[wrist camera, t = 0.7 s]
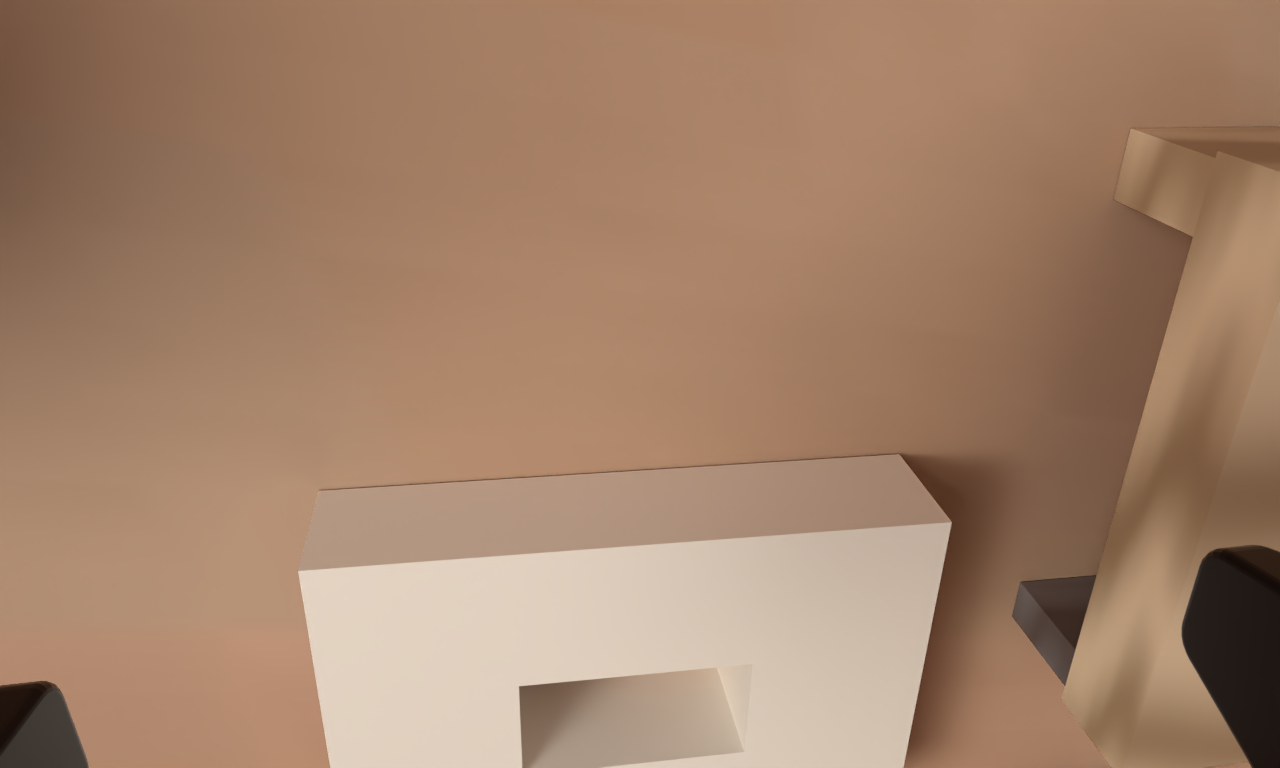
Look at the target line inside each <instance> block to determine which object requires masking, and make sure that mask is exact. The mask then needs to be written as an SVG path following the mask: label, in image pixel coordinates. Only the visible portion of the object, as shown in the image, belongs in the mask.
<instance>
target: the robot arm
mask: <svg viewBox="0 0 1280 768" xmlns="http://www.w3.org/2000/svg"><path fill="white" fill-rule="evenodd" d="M1181 636H1182V641H1183V646H1184V649H1185V651H1186V654H1187V656H1188V658H1189V660H1190V662H1191V663H1192V665H1193V667H1194V668H1195V670H1196V672H1197V674H1198V675H1199V677H1200V679H1201V681H1202V682H1203V684H1204V686H1205V687H1206V689H1207V691H1208V693H1209V694H1210V696H1211V698H1212V699H1213V701H1214V703H1215V705H1216V706H1217V708H1218V710H1219V712H1220V713H1221V715H1222V717H1223V718H1224V720H1225V722H1226V724H1227V725H1228V727H1229V729H1230V730H1231V732H1232V734H1233V736H1234V737H1235V739H1236V741H1237V743H1238V744H1239V746H1240V748H1241V749H1242V751H1243V753H1244V755H1245V756H1246V758H1247V760H1248V762H1249V763H1250V765H1251V767H1252V768H1280V552H1279V551H1276V550H1273V549H1271V548H1268V547H1265V546H1261V545H1244V546H1235V547H1226V548H1218V549H1215V550H1212V551H1210V552H1209V553H1208V554H1207V555H1206V556H1205V557H1204V558H1203V559H1202V561H1201V563H1200V566H1199V569H1198V572H1197V576H1196V579H1195V582H1194V585H1193V589H1192V592H1191V595H1190V599H1189V602H1188V605H1187V608H1186V612H1185V615H1184V618H1183V622H1182V627H1181ZM0 768H89V766H88V762H87V758H86V755H85V752H84V750H83V747H82V744H81V742H80V739H79V736H78V734H77V731H76V728H75V725H74V723H73V720H72V717H71V715H70V712H69V709H68V707H67V704H66V701H65V698H64V696H63V694H62V692H61V691H60V689H59V688H58V687H57V686H56V685H55V684H53V683H51V682H47V681H37V682H28V683H19V684H10V685H1V686H0Z"/></svg>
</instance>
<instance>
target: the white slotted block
mask: <svg viewBox="0 0 1280 768" xmlns="http://www.w3.org/2000/svg"><path fill="white" fill-rule="evenodd" d="M951 524H952V522H951V520H950V519H949V518H948V517H947V515H946V514H945V513H944V511H943V510H942V509H941V507H940V506H939V505H938V504H937V502H936V501H935V500H934V498H933V497H932V496H931V495H930V493H929V492H928V491H927V489H926V488H925V487H924V485H923V484H922V483H921V482H920V480H919V479H918V478H917V476H916V475H915V474H914V473H913V471H912V470H911V469H910V467H909V466H908V465H907V463H906V462H905V461H904V460H903V458H902V457H901V456H900V454H894V455H878V456H862V457H847V458H831V459H815V460H799V461H783V462H767V463H751V464H736V465H720V466H704V467H688V468H672V469H656V470H640V471H625V472H609V473H593V474H577V475H561V476H545V477H529V478H514V479H498V480H482V481H466V482H450V483H434V484H418V485H403V486H387V487H371V488H355V489H339V490H323V491H318V494H317V498H316V502H315V506H314V510H313V514H312V518H311V522H310V526H309V530H308V534H307V538H306V542H305V546H304V550H303V554H302V558H301V562H300V566H299V570H298V572H299V578H300V585H301V591H302V597H303V603H304V609H305V615H306V621H307V628H308V634H309V640H310V646H311V652H312V658H313V664H314V670H315V677H316V683H317V689H318V695H319V701H320V707H321V713H322V720H323V726H324V732H325V738H326V744H327V750H328V756H329V762H330V768H903V767H904V762H905V757H906V752H907V747H908V742H909V737H910V732H911V727H912V722H913V717H914V711H915V706H916V701H917V696H918V691H919V686H920V681H921V676H922V671H923V666H924V661H925V656H926V651H927V646H928V641H929V635H930V630H931V625H932V620H933V615H934V610H935V605H936V600H937V595H938V590H939V585H940V580H941V575H942V570H943V565H944V560H945V554H946V549H947V544H948V539H949V534H950V529H951Z"/></svg>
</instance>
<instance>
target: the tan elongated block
mask: <svg viewBox="0 0 1280 768" xmlns="http://www.w3.org/2000/svg"><path fill="white" fill-rule="evenodd" d="M1113 200H1116V201H1118V202H1120V203H1122V204H1124V205H1126V206H1128V207H1130V208H1133V209H1135V210H1137V211H1139V212H1141V213H1143V214H1145V215H1147V216H1150V217H1152V218H1154V219H1156V220H1158V221H1160V222H1162V223H1164V224H1167V225H1169V226H1171V227H1173V228H1175V229H1177V230H1179V231H1181V232H1184V233H1186V234H1188V235H1190V236H1192V237H1193V239H1192V242H1191V246H1190V249H1189V253H1188V256H1187V260H1186V263H1185V267H1184V270H1183V274H1182V277H1181V281H1180V284H1179V288H1178V291H1177V295H1176V298H1175V302H1174V305H1173V309H1172V313H1171V316H1170V320H1169V323H1168V327H1167V330H1166V334H1165V337H1164V341H1163V344H1162V348H1161V351H1160V355H1159V358H1158V362H1157V365H1156V369H1155V372H1154V376H1153V379H1152V383H1151V386H1150V390H1149V393H1148V397H1147V400H1146V404H1145V407H1144V411H1143V414H1142V418H1141V421H1140V425H1139V428H1138V432H1137V436H1136V439H1135V443H1134V446H1133V450H1132V453H1131V457H1130V460H1129V464H1128V467H1127V471H1126V474H1125V478H1124V481H1123V485H1122V488H1121V492H1120V495H1119V499H1118V502H1117V506H1116V509H1115V513H1114V516H1113V520H1112V523H1111V527H1110V530H1109V534H1108V537H1107V541H1106V544H1105V548H1104V551H1103V555H1102V559H1101V562H1100V566H1099V569H1098V573H1097V576H1086V577H1075V578H1063V579H1051V580H1040V581H1028V582H1020V586H1019V591H1018V595H1017V599H1016V603H1015V607H1014V611H1013V615H1012V617H1013V618H1014V619H1015V621H1016V622H1017V623H1018V625H1019V626H1020V627H1021V629H1022V630H1023V631H1024V633H1025V634H1026V635H1027V637H1028V638H1029V639H1030V641H1031V642H1032V643H1033V645H1034V646H1035V647H1036V649H1037V650H1038V651H1039V653H1040V654H1041V655H1042V657H1043V658H1044V659H1045V660H1046V662H1047V663H1048V664H1049V666H1050V667H1051V668H1052V670H1053V671H1054V672H1055V674H1056V675H1057V676H1058V678H1059V679H1060V680H1061V682H1062V683H1063V684H1064V686H1065V689H1064V692H1063V696H1062V699H1061V700H1062V701H1063V703H1064V704H1065V706H1066V707H1067V708H1068V710H1069V711H1070V712H1071V714H1072V715H1073V716H1074V718H1075V719H1076V720H1077V722H1078V723H1079V724H1080V726H1081V727H1082V729H1083V730H1084V731H1085V733H1086V734H1087V735H1088V737H1089V738H1090V739H1091V741H1092V742H1093V743H1094V745H1095V746H1096V748H1097V749H1098V750H1099V752H1100V753H1101V754H1102V756H1103V757H1104V758H1105V760H1106V761H1107V762H1108V764H1109V765H1110V766H1111V768H1206V767H1214V766H1222V765H1231V764H1239V763H1247V762H1248V760H1247V758H1246V756H1245V755H1244V753H1243V751H1242V749H1241V748H1240V746H1239V744H1238V743H1237V741H1236V739H1235V737H1234V736H1233V734H1232V732H1231V730H1230V729H1229V727H1228V725H1227V724H1226V722H1225V720H1224V718H1223V717H1222V715H1221V713H1220V712H1219V710H1218V708H1217V706H1216V705H1215V703H1214V701H1213V699H1212V698H1211V696H1210V694H1209V693H1208V691H1207V689H1206V687H1205V686H1204V684H1203V682H1202V681H1201V679H1200V677H1199V675H1198V674H1197V672H1196V670H1195V668H1194V667H1193V665H1192V663H1191V662H1190V660H1189V658H1188V656H1187V654H1186V651H1185V649H1184V646H1183V641H1182V636H1181V627H1182V622H1183V618H1184V615H1185V612H1186V608H1187V605H1188V602H1189V599H1190V595H1191V592H1192V589H1193V585H1194V582H1195V579H1196V576H1197V572H1198V569H1199V566H1200V563H1201V561H1202V559H1203V558H1204V557H1205V556H1206V555H1207V554H1208V553H1209V552H1210V551H1212V550H1215V549H1218V548H1226V547H1235V546H1244V545H1261V546H1265V547H1268V548H1271V549H1273V550H1276V551H1279V552H1280V128H1279V127H1207V128H1131V129H1130V133H1129V137H1128V142H1127V146H1126V150H1125V154H1124V158H1123V162H1122V166H1121V170H1120V174H1119V179H1118V183H1117V187H1116V191H1115V195H1114V199H1113Z"/></svg>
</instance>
